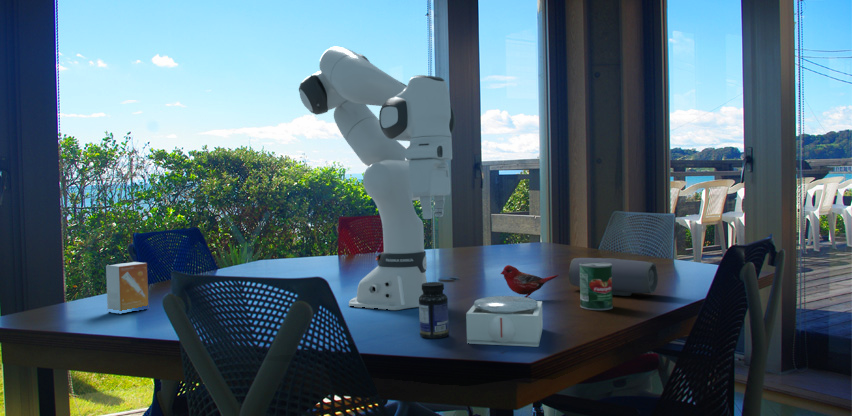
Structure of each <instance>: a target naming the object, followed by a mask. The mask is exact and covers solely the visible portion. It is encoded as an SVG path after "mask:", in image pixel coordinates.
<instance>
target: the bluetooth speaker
mask: <svg viewBox="0 0 852 416" xmlns="http://www.w3.org/2000/svg"><path fill="white" fill-rule="evenodd" d="M585 262H604V263H610V264H612V296H623V297H624V296H625V297H630V296H632V294H654V293H655V292H656V290H657V288H658V284H659V283H658V282H659V275H658V269H657V264H656V263H655V262H649V261H644V260H633V259H632V260H631V259H622V258H610V257H609V258H605V257H575V258H572V259H571V261H570V263H569V269H568V280H569V282H570V284H571V286H573V287H578V288H580V265H579V264H580V263H585Z"/></svg>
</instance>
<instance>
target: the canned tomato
mask: <svg viewBox="0 0 852 416" xmlns="http://www.w3.org/2000/svg"><path fill="white" fill-rule="evenodd" d="M579 265H580V287H579V294H580V295H579V297H580V302H579V303H580V305H579V307H580V308H582V309H584V310H588V311H589V310H590V311H608V310H612V309H613V308H614V307H613V295H612V264H610V263H604V262H585V263H580V264H579Z"/></svg>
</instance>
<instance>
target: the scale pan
mask: <svg viewBox="0 0 852 416" xmlns="http://www.w3.org/2000/svg"><path fill="white" fill-rule="evenodd" d="M531 298H532V297H530V298H526V297H525V296H514V295H513V296H512V295H500V296H499V295H497V296H496V295H495V296H487V297H482V298H478V299H476V300H474V303H473V305H474V307H475V308H476V309H479V310H482V311H487V312H496V313H500V314H513V313H517V312H526V311H530V310H534V309H536V308H537V307H538V303H537V301H538V300H536V299H533V298H532V299H531Z"/></svg>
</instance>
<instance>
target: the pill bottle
mask: <svg viewBox="0 0 852 416" xmlns="http://www.w3.org/2000/svg"><path fill="white" fill-rule="evenodd" d="M444 289H445V285H444V282H441V281H430V282H429V281H428V282H427V283H423V284H422V291H423V294H422V295H421V296H420V297H419V307H418V312H419V331H420V332H419V335H420V336H421V337H422V338H425V339H439V338H440V339H441V338H446V337H447V336H448V335H449V331H450V329H449V305H448V302H449V301H448V296H447V294H445V293H444Z"/></svg>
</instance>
